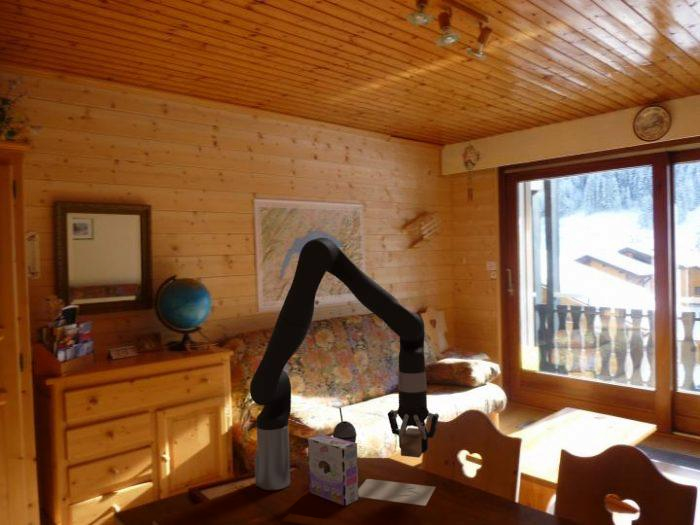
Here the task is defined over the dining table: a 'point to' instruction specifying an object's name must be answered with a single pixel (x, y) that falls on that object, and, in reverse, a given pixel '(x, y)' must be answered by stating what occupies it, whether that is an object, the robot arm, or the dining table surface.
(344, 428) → the beverage cup
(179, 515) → the dining table surface
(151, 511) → the dining table surface
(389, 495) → the board
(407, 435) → the block
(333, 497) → the candy box
